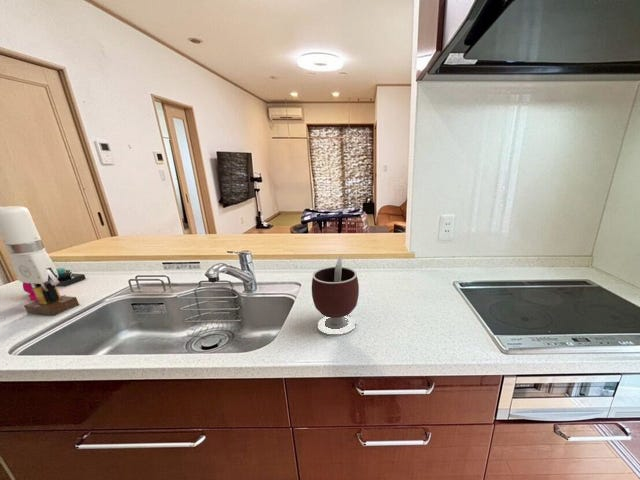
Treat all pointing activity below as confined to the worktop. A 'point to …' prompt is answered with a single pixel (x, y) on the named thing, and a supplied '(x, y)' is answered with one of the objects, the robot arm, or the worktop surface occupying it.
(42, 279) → the robot arm
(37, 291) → the lock turn
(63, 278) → the doorbell
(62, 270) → the bell button
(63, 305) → the brown flat block
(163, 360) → the worktop surface
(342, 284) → the mate gourd
